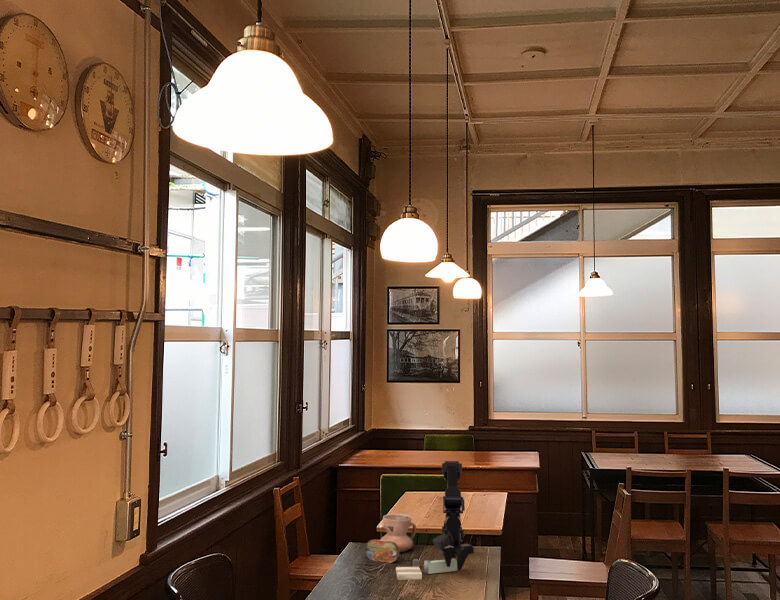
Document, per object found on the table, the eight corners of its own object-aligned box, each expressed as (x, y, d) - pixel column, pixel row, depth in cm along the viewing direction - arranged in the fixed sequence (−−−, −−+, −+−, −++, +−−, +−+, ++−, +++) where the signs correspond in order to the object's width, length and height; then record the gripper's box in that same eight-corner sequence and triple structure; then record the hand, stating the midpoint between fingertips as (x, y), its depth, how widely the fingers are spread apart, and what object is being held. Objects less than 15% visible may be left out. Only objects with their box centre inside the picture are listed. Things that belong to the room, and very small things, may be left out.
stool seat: (395, 572, 272) (395, 567, 273) (418, 571, 273) (418, 566, 273) (398, 579, 264) (398, 574, 264) (421, 579, 264) (421, 573, 265)
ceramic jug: (384, 556, 294) (385, 521, 295) (371, 547, 307) (372, 514, 308) (423, 552, 301) (424, 519, 302) (409, 543, 314) (410, 511, 315)
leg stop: (412, 566, 280) (412, 559, 280) (417, 566, 280) (417, 559, 280) (413, 568, 278) (413, 560, 278) (418, 568, 278) (418, 560, 278)
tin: (364, 559, 290) (364, 538, 290) (368, 557, 292) (368, 537, 293) (396, 564, 283) (397, 543, 283) (400, 562, 285) (400, 541, 286)
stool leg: (425, 574, 270) (425, 562, 270) (423, 572, 272) (423, 560, 272) (456, 570, 274) (456, 559, 274) (454, 568, 276) (454, 557, 277)
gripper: (422, 525, 274) (422, 566, 272) (450, 533, 258) (451, 577, 256) (445, 522, 280) (446, 562, 278) (474, 530, 264) (475, 573, 262)
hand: (453, 568), depth 269 cm, fingers open, 7 cm apart
